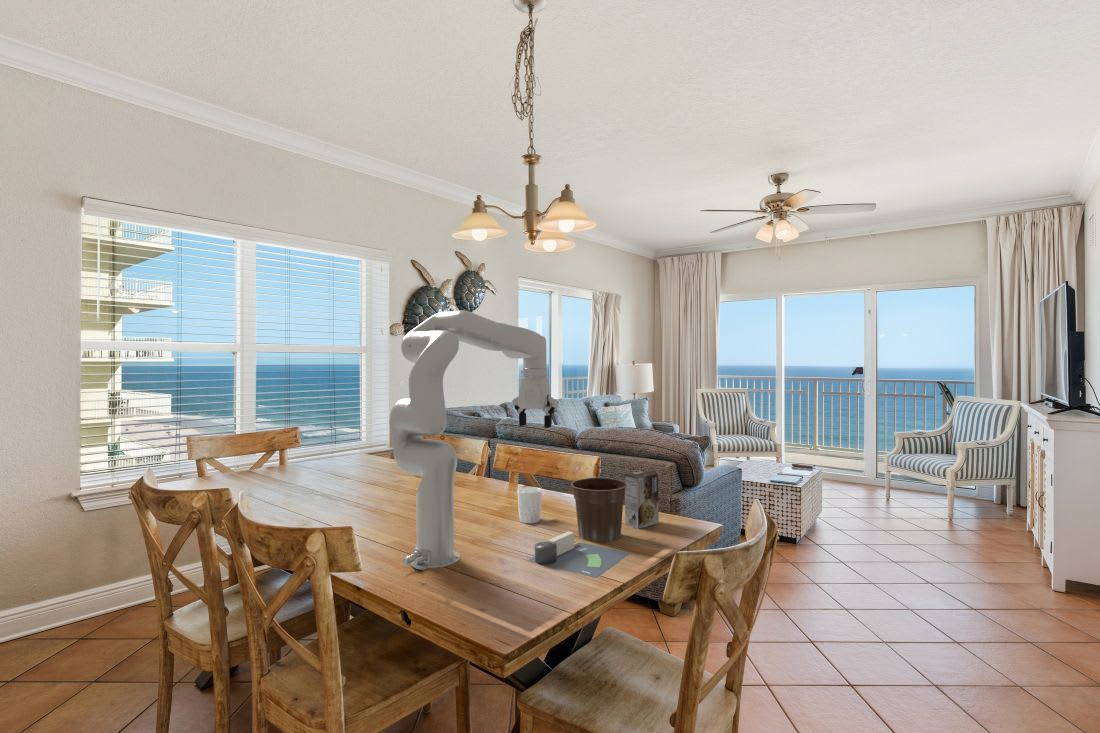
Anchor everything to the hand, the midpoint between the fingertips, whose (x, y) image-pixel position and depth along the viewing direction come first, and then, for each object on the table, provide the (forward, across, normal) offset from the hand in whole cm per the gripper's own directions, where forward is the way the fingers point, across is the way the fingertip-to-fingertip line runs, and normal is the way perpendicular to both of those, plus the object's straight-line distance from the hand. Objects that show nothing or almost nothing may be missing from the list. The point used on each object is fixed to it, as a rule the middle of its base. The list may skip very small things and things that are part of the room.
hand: (535, 426), depth 177 cm
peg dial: (+29, +24, -25) cm, 45 cm away
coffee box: (+31, +31, +13) cm, 46 cm away
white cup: (+31, -1, -2) cm, 31 cm away
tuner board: (+30, +29, -24) cm, 48 cm away
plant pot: (+31, +26, -6) cm, 40 cm away
